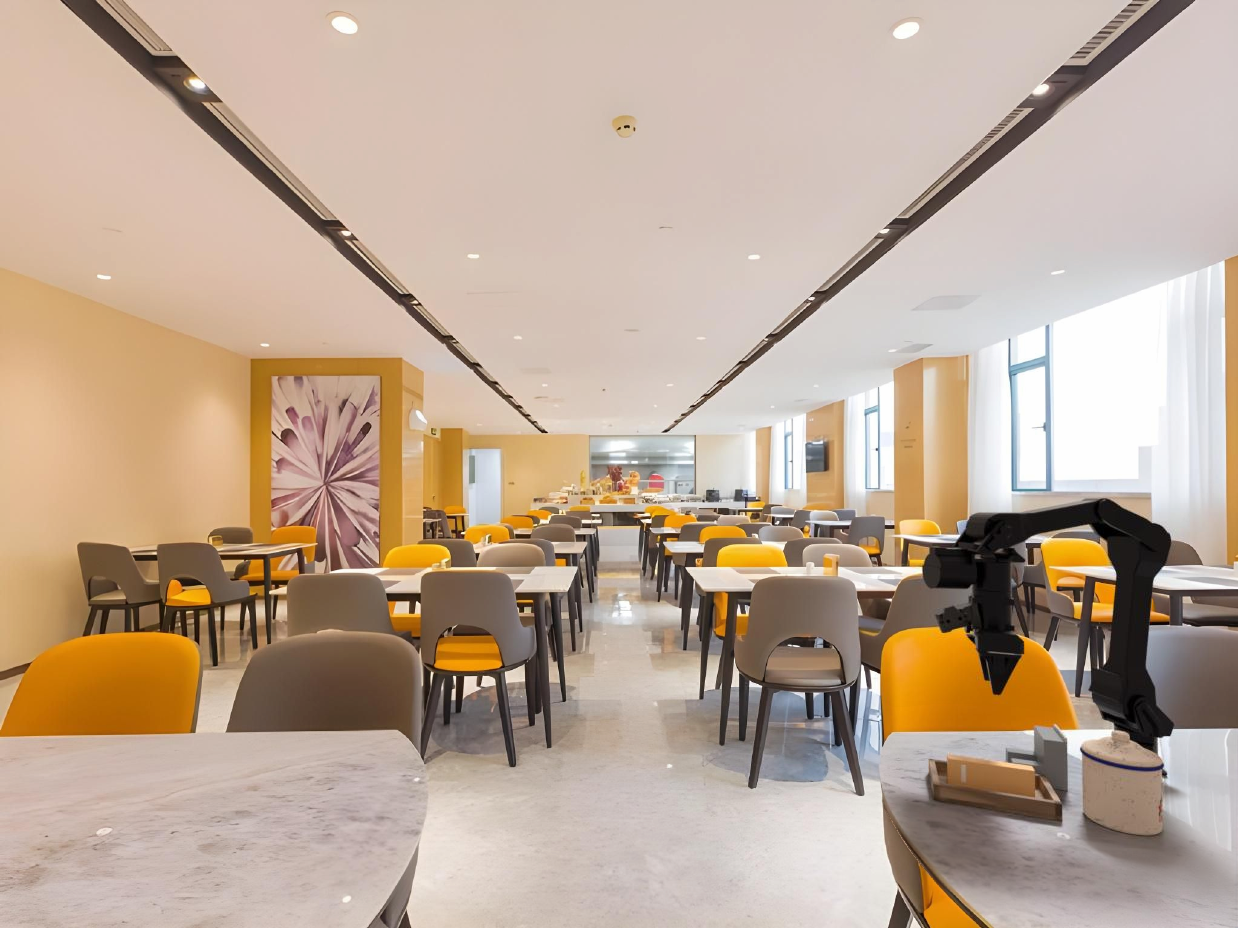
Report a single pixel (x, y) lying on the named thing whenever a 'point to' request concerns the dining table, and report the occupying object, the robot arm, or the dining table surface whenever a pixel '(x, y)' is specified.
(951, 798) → the tray
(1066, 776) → the grey slotted holder
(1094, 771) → the teacup with lid
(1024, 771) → the tan elongated block
